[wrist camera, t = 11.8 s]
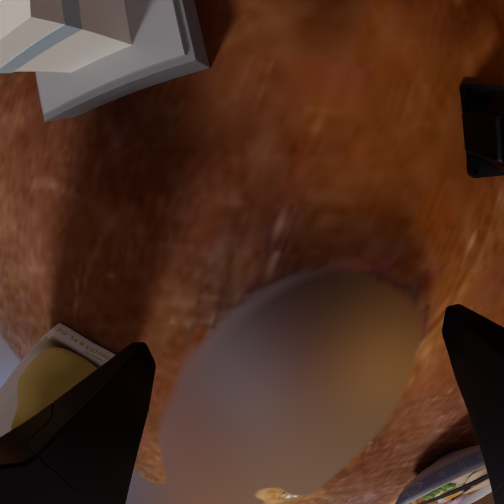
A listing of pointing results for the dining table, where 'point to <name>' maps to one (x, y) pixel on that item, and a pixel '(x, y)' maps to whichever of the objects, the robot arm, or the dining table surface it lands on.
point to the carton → (60, 33)
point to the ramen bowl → (450, 480)
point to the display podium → (130, 60)
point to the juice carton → (47, 374)
